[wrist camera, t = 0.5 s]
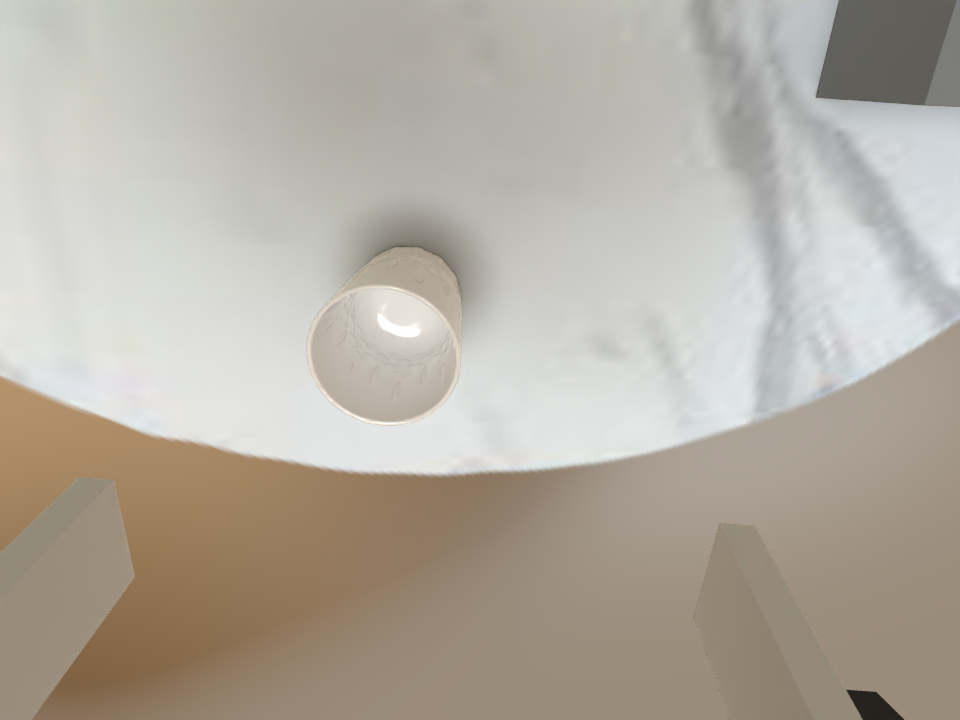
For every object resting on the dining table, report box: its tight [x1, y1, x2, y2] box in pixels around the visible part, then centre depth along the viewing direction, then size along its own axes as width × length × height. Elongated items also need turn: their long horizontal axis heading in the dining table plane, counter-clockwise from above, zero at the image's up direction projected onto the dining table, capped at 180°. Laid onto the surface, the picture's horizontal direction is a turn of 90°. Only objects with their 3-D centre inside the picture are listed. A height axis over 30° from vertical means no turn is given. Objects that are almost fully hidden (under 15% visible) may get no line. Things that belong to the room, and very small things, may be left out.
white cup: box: [306, 247, 462, 426], centre depth 37 cm, size 8×8×10 cm
